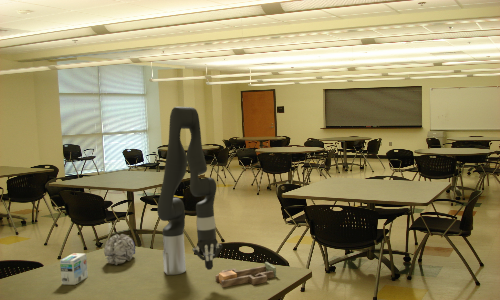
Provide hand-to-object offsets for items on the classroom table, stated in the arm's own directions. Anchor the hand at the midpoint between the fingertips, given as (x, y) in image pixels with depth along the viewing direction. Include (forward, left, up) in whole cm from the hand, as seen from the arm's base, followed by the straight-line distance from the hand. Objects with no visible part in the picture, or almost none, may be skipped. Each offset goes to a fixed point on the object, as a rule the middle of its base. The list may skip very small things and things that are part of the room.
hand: (209, 269), depth 190 cm
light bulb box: (-50, +37, -7) cm, 63 cm away
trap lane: (+16, 0, -7) cm, 17 cm away
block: (+8, 0, -7) cm, 11 cm away
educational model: (-28, +54, -7) cm, 62 cm away
